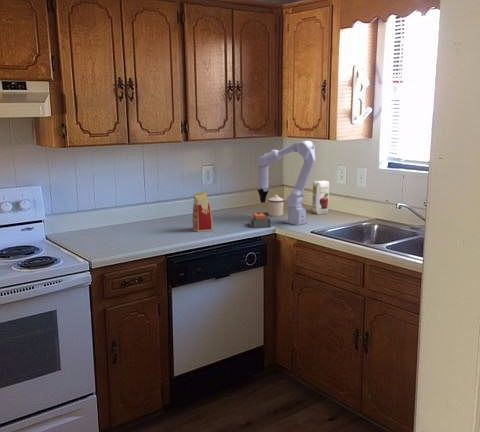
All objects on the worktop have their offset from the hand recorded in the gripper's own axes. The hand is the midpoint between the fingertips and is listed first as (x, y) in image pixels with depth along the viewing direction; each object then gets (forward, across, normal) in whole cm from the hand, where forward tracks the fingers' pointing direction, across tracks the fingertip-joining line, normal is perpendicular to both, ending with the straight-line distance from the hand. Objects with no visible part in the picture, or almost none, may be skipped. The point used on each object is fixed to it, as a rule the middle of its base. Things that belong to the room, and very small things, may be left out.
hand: (262, 202), depth 292 cm
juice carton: (+10, -12, +37) cm, 40 cm away
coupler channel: (+9, +15, -5) cm, 19 cm away
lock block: (+10, +15, -5) cm, 18 cm away
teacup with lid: (+10, -13, +9) cm, 18 cm away
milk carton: (+10, +21, -35) cm, 42 cm away
